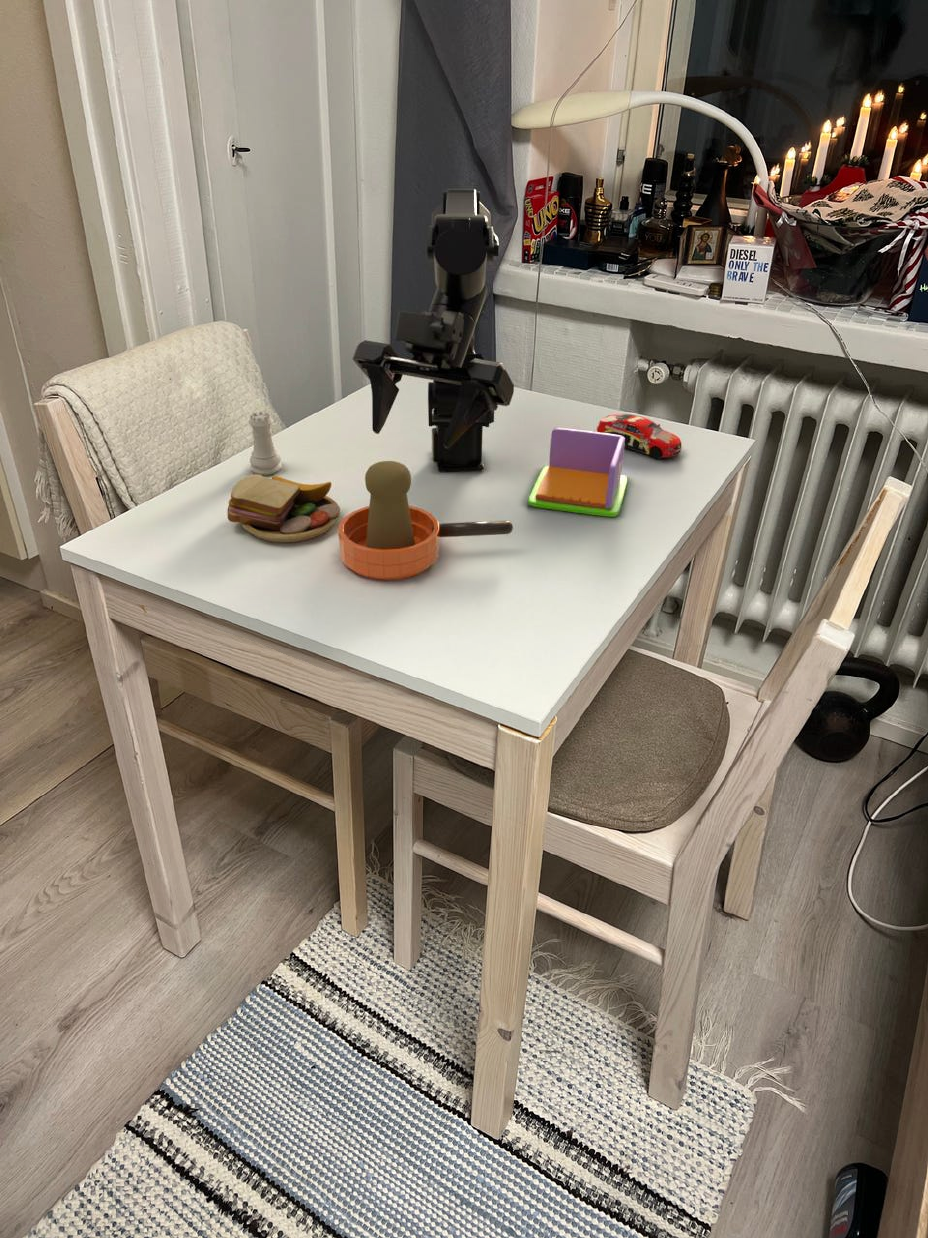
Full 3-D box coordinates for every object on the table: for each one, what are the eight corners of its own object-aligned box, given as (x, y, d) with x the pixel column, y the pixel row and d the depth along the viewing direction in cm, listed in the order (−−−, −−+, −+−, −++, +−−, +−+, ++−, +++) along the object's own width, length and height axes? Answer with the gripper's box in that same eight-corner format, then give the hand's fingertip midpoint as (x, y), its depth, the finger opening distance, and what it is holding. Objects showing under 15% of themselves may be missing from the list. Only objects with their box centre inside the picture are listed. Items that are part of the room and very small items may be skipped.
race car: (687, 453, 134) (691, 427, 132) (668, 465, 131) (672, 438, 129) (611, 428, 141) (614, 404, 139) (591, 439, 138) (594, 414, 136)
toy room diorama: (628, 479, 127) (634, 432, 123) (617, 518, 117) (623, 469, 113) (543, 468, 129) (546, 422, 125) (525, 506, 120) (528, 457, 116)
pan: (434, 530, 114) (434, 501, 112) (443, 579, 105) (443, 549, 102) (340, 534, 113) (338, 505, 111) (341, 584, 103) (338, 554, 101)
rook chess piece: (286, 463, 130) (280, 409, 125) (277, 477, 126) (271, 421, 121) (255, 461, 130) (248, 407, 125) (246, 475, 126) (238, 420, 122)
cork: (424, 543, 110) (422, 459, 104) (404, 568, 105) (401, 481, 99) (378, 535, 112) (374, 451, 105) (356, 558, 107) (351, 472, 101)
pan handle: (511, 529, 109) (512, 517, 109) (513, 536, 108) (514, 524, 107) (431, 533, 109) (431, 521, 108) (432, 540, 107) (432, 527, 106)
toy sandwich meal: (312, 553, 109) (308, 518, 106) (213, 534, 113) (208, 499, 110) (357, 508, 119) (355, 474, 116) (265, 491, 122) (261, 458, 120)
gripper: (356, 268, 104) (310, 394, 101) (508, 289, 97) (462, 423, 95) (392, 321, 114) (351, 436, 112) (532, 342, 107) (491, 465, 105)
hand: (410, 439), depth 106 cm, fingers open, 9 cm apart
